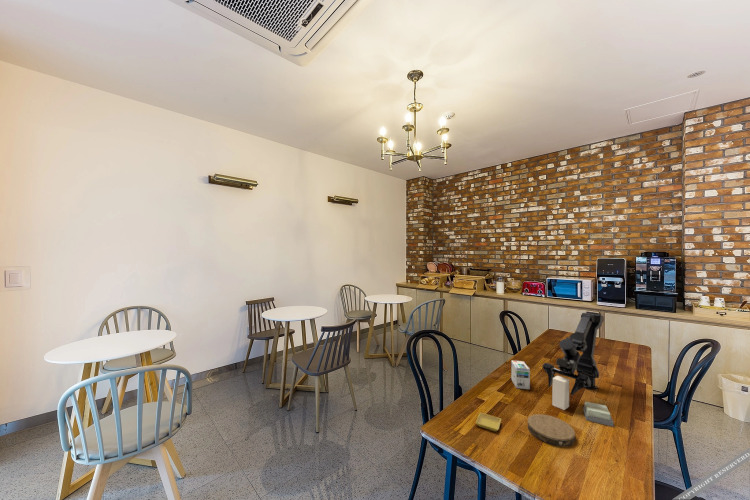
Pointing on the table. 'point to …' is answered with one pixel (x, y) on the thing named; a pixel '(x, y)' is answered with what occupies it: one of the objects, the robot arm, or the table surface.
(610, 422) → the tower base slab
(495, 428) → the yellow flat square tray
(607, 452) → the table surface
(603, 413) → the tower top slab
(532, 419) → the wood slice
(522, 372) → the light bulb box
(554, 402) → the cream pillar
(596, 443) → the table surface
